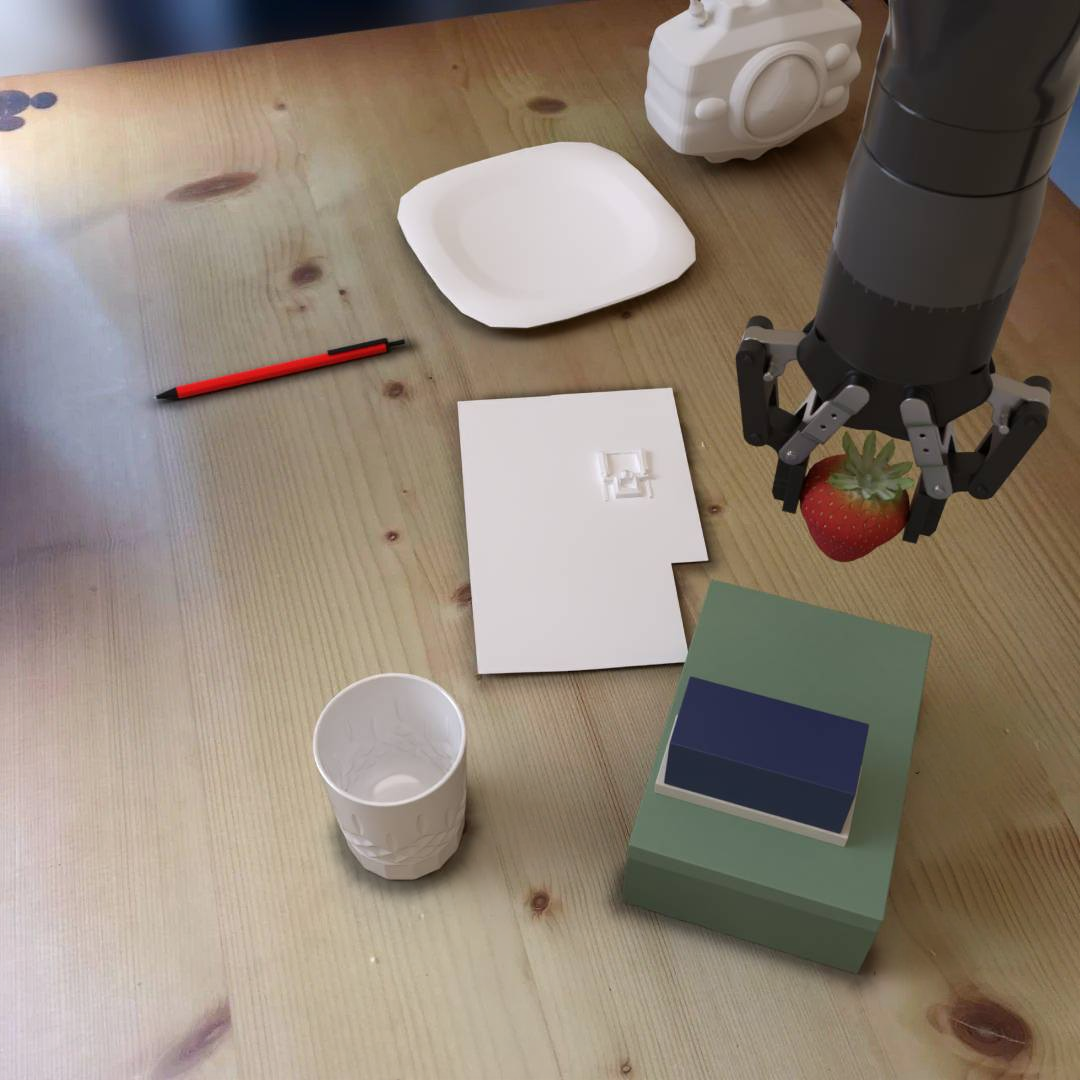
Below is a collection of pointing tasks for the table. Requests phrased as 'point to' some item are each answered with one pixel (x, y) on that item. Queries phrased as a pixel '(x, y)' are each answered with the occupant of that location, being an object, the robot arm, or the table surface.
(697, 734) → the navy block
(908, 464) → the fruit
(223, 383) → the pen
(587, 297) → the plate
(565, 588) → the paper
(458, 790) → the white cup
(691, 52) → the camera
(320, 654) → the table surface
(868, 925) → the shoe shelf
